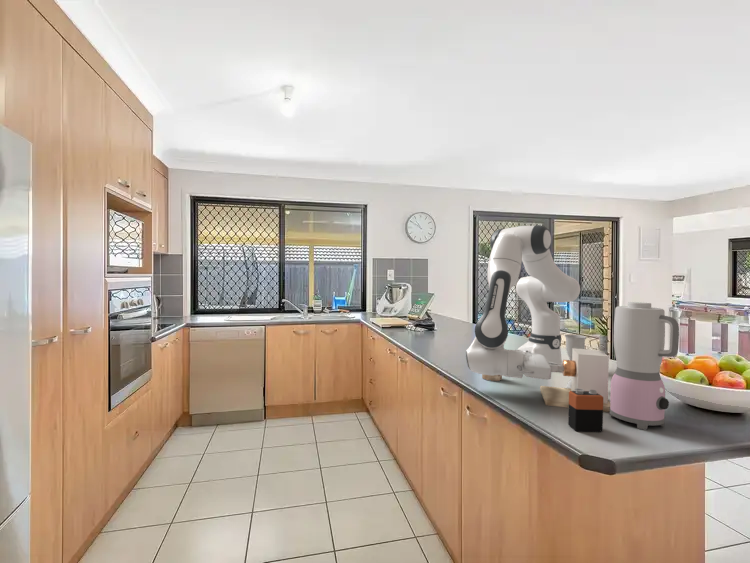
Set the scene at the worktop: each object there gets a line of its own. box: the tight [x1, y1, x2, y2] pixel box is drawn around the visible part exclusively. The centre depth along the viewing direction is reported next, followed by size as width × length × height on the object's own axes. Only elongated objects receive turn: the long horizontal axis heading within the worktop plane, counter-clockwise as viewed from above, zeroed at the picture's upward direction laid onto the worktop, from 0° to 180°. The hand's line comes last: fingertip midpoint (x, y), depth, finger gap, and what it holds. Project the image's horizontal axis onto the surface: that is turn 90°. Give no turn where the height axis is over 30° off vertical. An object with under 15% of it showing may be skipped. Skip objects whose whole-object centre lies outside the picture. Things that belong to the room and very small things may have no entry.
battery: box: [567, 389, 604, 433], centre depth 98 cm, size 4×7×10 cm, turn 89°
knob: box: [562, 359, 576, 378], centre depth 120 cm, size 9×5×5 cm, turn 72°
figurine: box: [481, 374, 503, 382], centre depth 144 cm, size 7×7×12 cm
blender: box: [609, 301, 680, 430], centre depth 102 cm, size 16×12×32 cm
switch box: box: [570, 348, 610, 404], centre depth 119 cm, size 8×10×14 cm
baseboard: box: [539, 385, 610, 413], centre depth 120 cm, size 18×16×2 cm
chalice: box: [564, 334, 587, 389], centre depth 135 cm, size 7×7×18 cm
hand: (563, 367), depth 121 cm, fingers closed, pressing on knob
